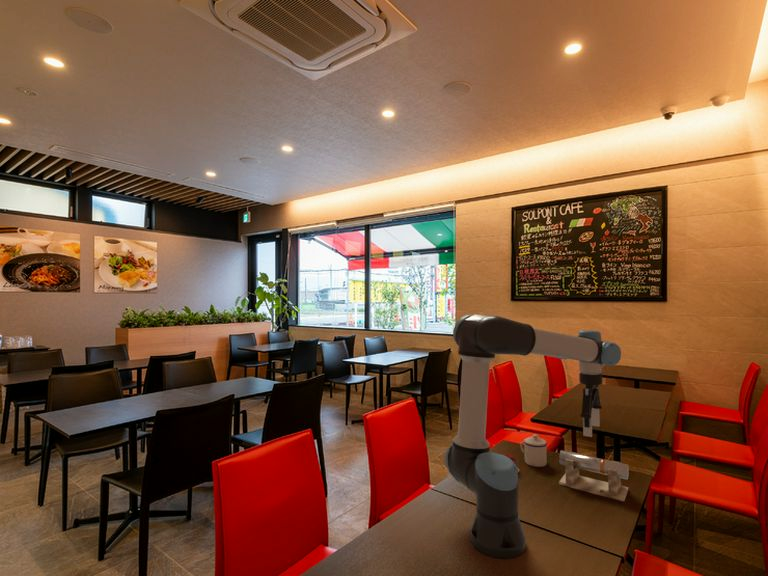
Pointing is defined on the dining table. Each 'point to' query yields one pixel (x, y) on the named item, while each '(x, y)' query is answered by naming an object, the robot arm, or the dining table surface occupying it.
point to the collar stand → (594, 482)
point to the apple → (511, 459)
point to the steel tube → (594, 464)
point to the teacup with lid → (535, 451)
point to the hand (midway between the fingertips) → (591, 430)
